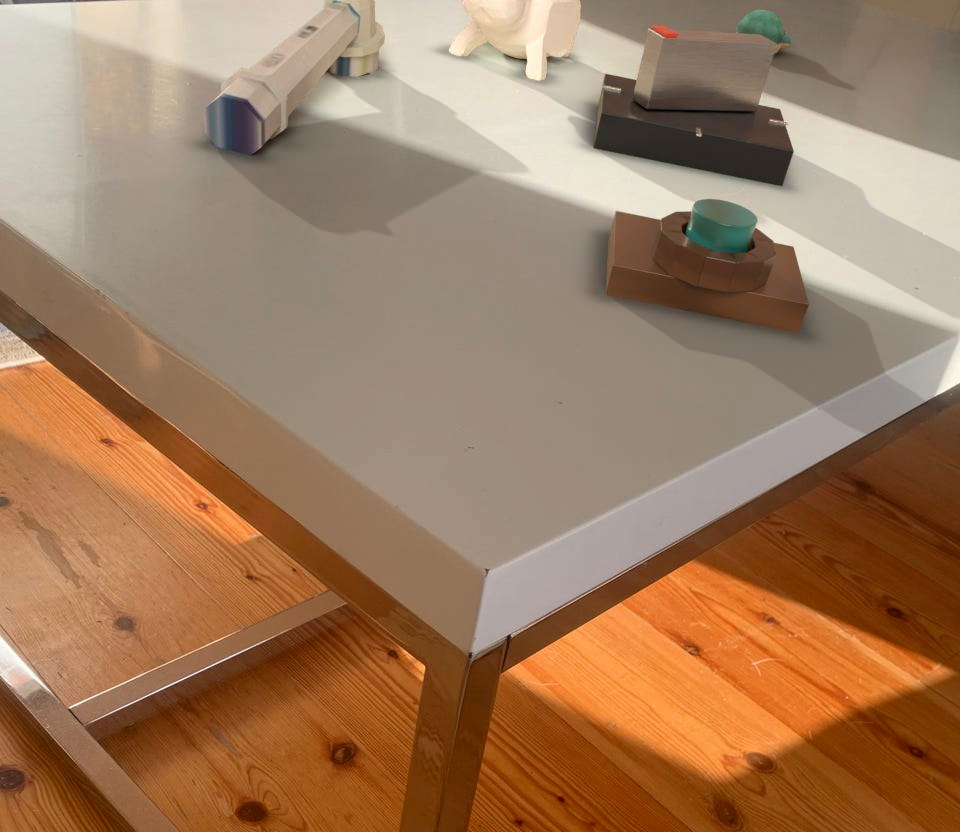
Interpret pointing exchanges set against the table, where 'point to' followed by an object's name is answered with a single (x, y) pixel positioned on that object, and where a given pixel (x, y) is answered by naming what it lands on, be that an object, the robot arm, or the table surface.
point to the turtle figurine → (764, 27)
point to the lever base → (694, 135)
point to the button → (721, 225)
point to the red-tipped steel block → (702, 70)
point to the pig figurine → (521, 30)
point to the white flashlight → (293, 74)
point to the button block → (704, 273)
